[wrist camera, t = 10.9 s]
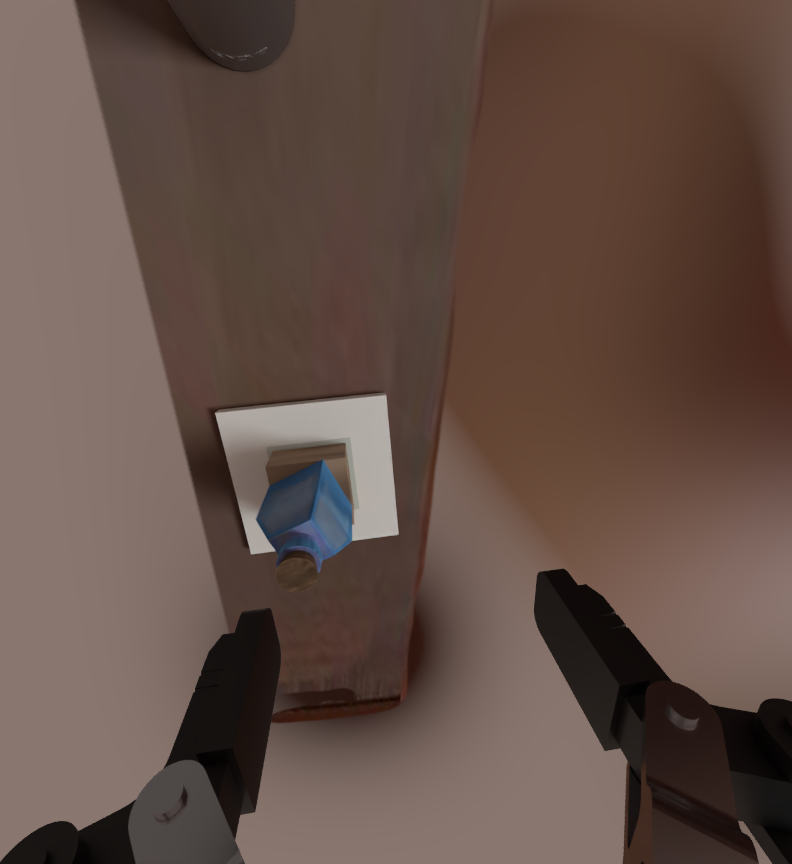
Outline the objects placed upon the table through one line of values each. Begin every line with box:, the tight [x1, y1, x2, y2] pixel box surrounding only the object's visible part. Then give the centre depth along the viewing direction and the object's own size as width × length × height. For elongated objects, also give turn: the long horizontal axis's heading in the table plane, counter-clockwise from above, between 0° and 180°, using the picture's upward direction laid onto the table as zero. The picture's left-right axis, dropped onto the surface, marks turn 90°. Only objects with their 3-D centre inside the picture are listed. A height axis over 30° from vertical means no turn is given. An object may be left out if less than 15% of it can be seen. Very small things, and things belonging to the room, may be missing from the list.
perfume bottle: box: [256, 459, 352, 592], centre depth 35 cm, size 6×6×12 cm
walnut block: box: [265, 443, 354, 525], centre depth 42 cm, size 8×8×4 cm
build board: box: [215, 392, 398, 554], centre depth 45 cm, size 18×18×1 cm
